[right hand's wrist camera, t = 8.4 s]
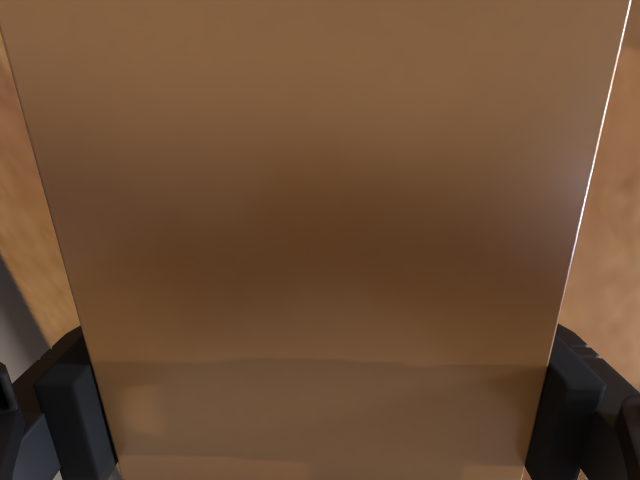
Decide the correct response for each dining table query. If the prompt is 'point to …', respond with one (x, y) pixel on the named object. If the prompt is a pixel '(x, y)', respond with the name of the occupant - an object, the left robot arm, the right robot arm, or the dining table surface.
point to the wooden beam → (316, 221)
